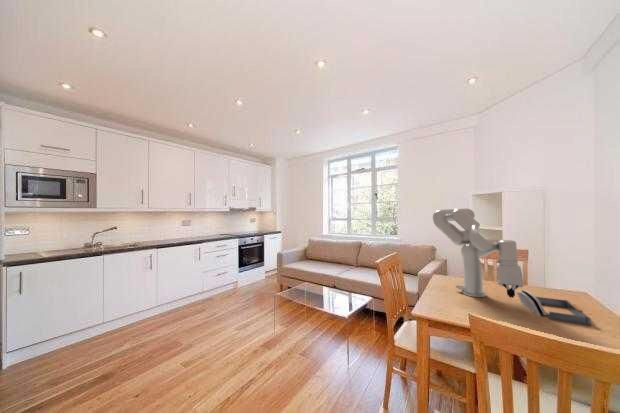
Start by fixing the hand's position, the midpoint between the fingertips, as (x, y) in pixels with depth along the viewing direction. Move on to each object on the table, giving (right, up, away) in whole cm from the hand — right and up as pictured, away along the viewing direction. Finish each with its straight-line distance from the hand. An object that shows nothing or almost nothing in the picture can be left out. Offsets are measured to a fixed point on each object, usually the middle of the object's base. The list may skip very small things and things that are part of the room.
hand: (511, 296), depth 126 cm
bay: (+17, -5, -9) cm, 20 cm away
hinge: (+8, -5, -4) cm, 10 cm away
